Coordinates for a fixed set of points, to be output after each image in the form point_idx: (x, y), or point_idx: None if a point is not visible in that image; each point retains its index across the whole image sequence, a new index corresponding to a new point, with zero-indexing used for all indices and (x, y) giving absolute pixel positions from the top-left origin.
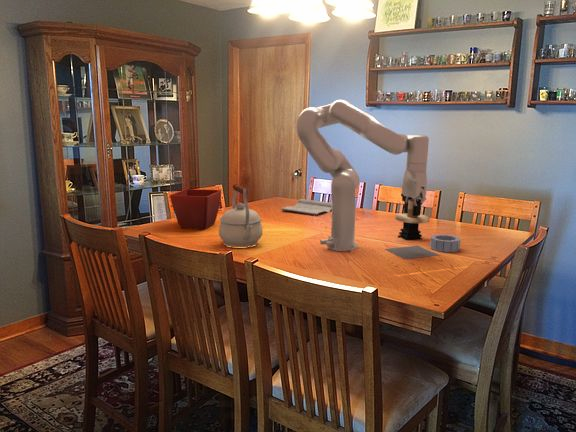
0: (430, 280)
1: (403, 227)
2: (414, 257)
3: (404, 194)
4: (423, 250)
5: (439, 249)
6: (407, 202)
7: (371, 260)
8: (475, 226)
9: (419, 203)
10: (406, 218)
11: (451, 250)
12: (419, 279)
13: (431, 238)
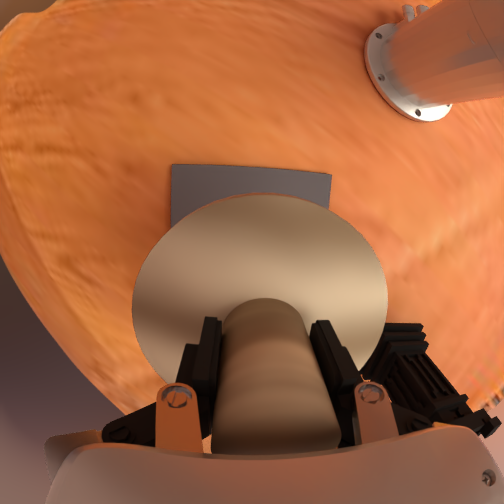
0: (17, 139)
1: (423, 353)
2: (179, 214)
3: (410, 442)
4: None
5: None
6: (352, 395)
7: (233, 53)
8: None
9: (130, 418)
10: (218, 246)
11: None
12: (30, 114)
13: None
